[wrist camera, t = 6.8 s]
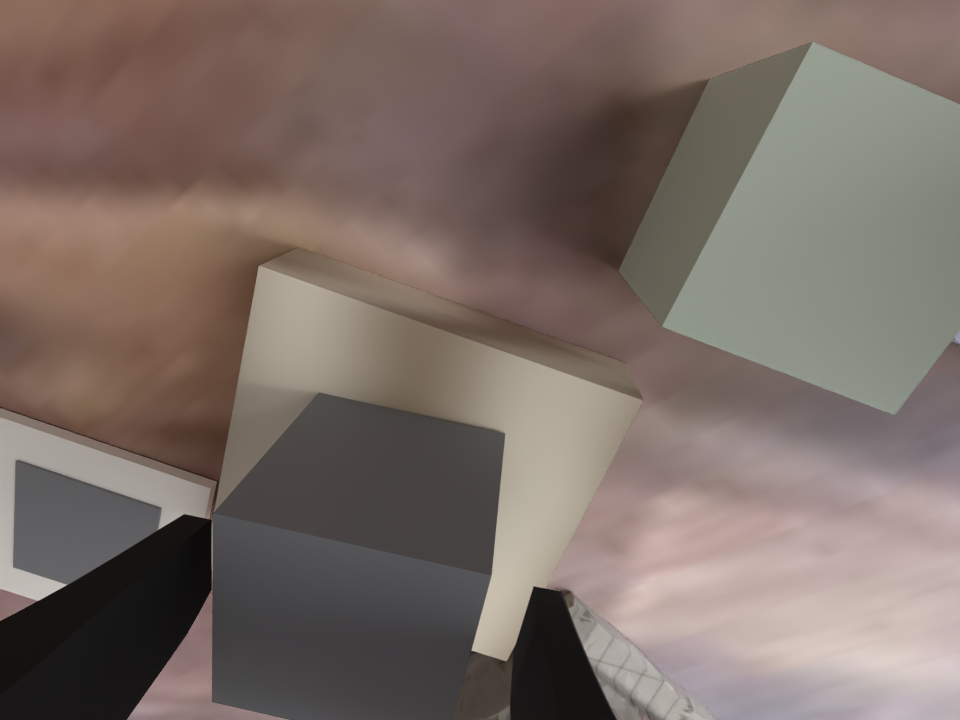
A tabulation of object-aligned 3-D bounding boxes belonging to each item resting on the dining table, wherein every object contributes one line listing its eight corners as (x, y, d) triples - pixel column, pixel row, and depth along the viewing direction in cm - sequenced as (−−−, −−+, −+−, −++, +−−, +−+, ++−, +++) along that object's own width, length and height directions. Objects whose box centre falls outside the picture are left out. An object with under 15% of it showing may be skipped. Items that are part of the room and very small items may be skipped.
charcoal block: (505, 433, 14) (491, 575, 9) (469, 577, 16) (443, 754, 11) (319, 392, 14) (213, 513, 9) (305, 540, 16) (212, 701, 11)
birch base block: (622, 357, 16) (644, 401, 13) (508, 589, 20) (506, 661, 17) (305, 244, 16) (258, 265, 13) (250, 505, 19) (204, 565, 17)
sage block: (891, 155, 13) (1090, 159, 9) (780, 332, 15) (894, 414, 10) (708, 79, 13) (812, 41, 8) (618, 270, 15) (661, 326, 10)
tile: (216, 481, 18) (209, 490, 18) (185, 636, 21) (177, 647, 21) (-16, 402, 18) (-30, 409, 17) (-15, 573, 21) (-27, 582, 20)
